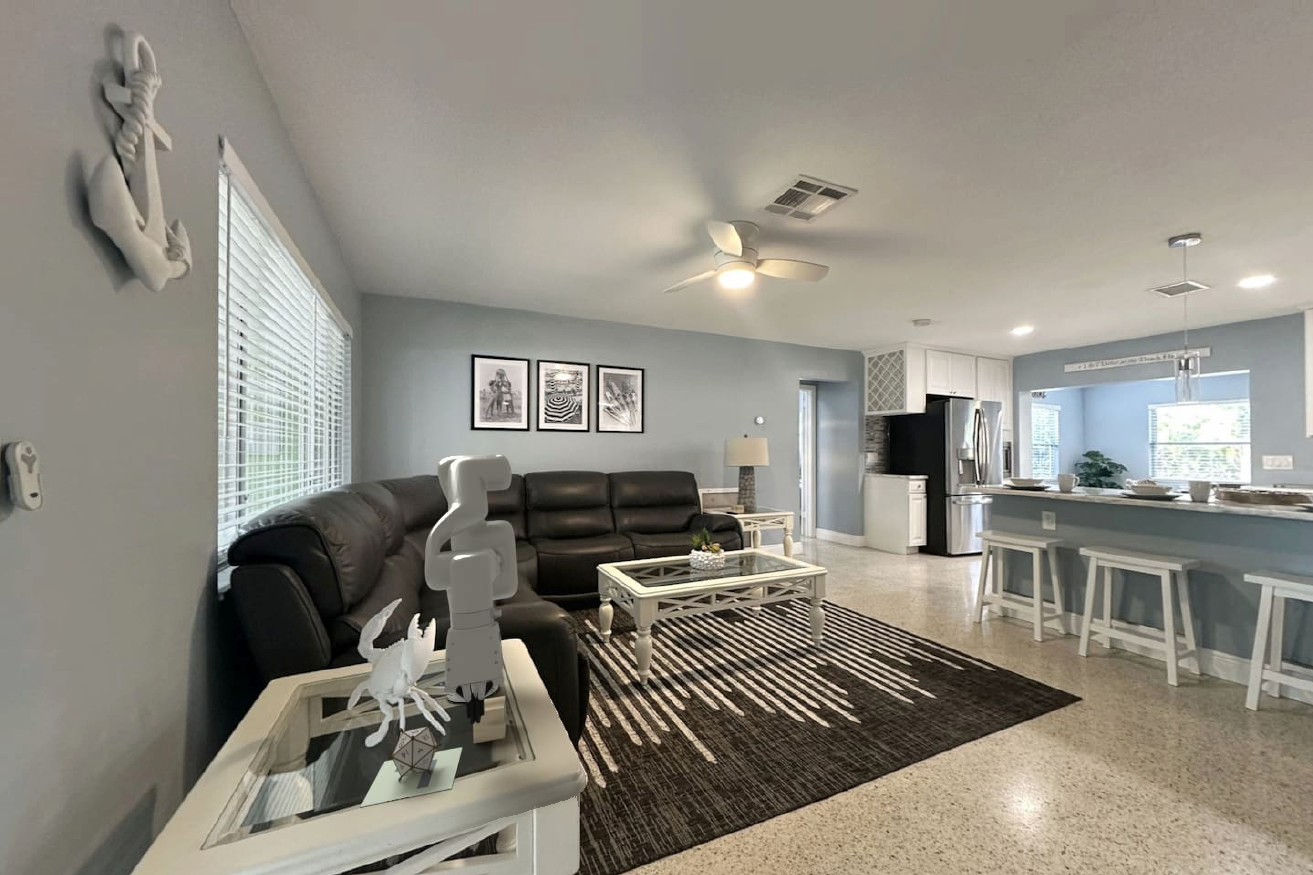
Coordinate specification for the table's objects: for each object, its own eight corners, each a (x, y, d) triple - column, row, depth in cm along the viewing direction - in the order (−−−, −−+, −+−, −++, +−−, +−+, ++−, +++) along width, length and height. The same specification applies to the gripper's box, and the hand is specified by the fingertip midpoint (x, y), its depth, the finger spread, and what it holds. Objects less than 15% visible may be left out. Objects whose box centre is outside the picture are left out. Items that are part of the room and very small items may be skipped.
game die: (420, 800, 88) (413, 771, 83) (380, 780, 90) (372, 750, 85) (453, 750, 96) (449, 721, 90) (416, 733, 97) (410, 703, 92)
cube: (476, 729, 106) (476, 700, 106) (506, 724, 107) (505, 695, 108) (473, 743, 100) (472, 712, 100) (504, 738, 101) (503, 707, 102)
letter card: (384, 762, 95) (384, 761, 95) (462, 747, 98) (462, 746, 98) (360, 807, 81) (360, 806, 81) (451, 788, 85) (451, 787, 85)
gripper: (514, 609, 100) (518, 705, 98) (434, 620, 96) (436, 719, 94) (512, 618, 93) (517, 721, 91) (426, 629, 89) (428, 737, 87)
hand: (476, 720), depth 92 cm, fingers closed
